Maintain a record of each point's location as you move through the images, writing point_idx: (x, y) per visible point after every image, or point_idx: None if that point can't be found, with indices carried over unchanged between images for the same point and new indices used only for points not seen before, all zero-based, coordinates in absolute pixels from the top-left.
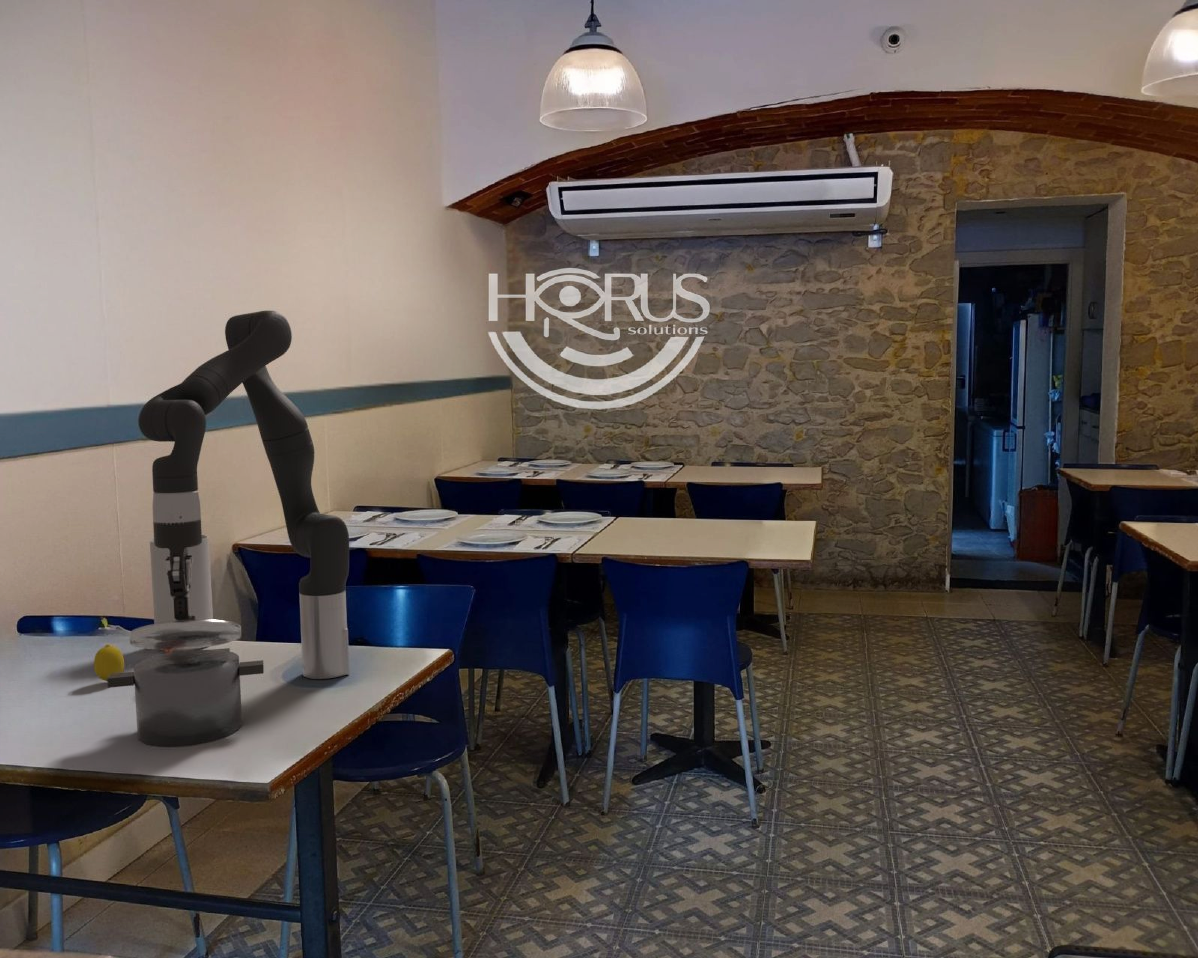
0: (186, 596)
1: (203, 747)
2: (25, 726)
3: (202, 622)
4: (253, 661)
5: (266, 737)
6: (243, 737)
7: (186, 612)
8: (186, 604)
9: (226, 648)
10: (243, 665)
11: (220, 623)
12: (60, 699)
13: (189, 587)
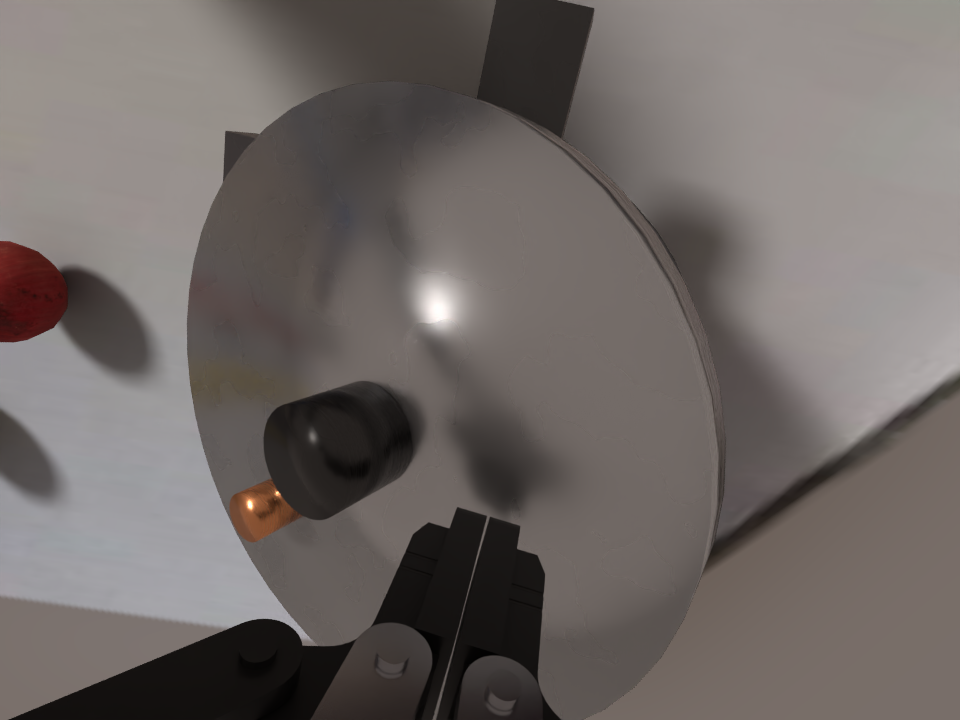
0: (531, 689)
1: (693, 300)
2: (267, 609)
3: (717, 464)
4: (495, 49)
5: (734, 94)
6: (680, 169)
7: (515, 562)
8: (507, 611)
9: (227, 148)
10: (547, 119)
11: (684, 307)
12: (83, 524)
13: (277, 650)
